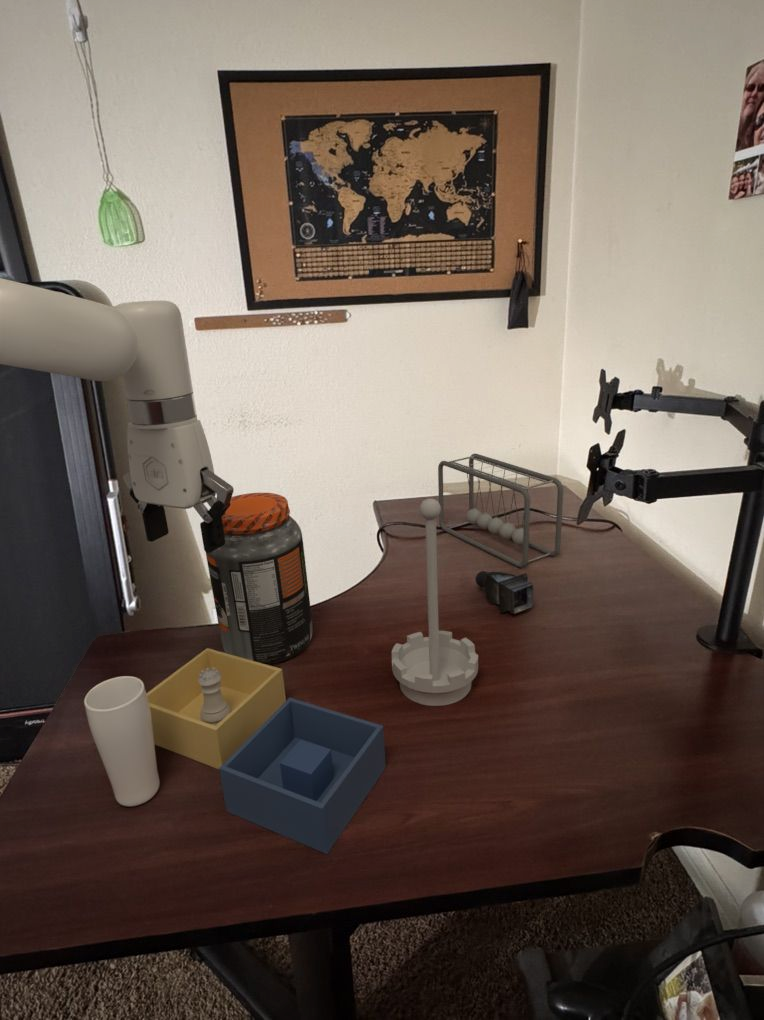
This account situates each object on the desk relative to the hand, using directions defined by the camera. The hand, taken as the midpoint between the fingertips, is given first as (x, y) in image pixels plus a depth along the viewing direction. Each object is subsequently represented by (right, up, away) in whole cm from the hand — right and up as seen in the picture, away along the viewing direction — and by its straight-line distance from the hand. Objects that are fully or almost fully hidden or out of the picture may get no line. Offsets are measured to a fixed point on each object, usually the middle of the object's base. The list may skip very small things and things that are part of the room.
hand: (186, 542), depth 80 cm
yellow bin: (+2, -26, +10) cm, 28 cm away
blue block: (+16, -30, -3) cm, 34 cm away
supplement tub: (+5, -19, +29) cm, 35 cm away
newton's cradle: (+51, -4, +64) cm, 82 cm away
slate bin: (+16, -30, -3) cm, 34 cm away
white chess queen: (+1, -26, +10) cm, 28 cm away
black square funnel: (+48, -14, +38) cm, 63 cm away
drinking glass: (-5, -31, -2) cm, 32 cm away
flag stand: (+33, -23, +16) cm, 43 cm away
